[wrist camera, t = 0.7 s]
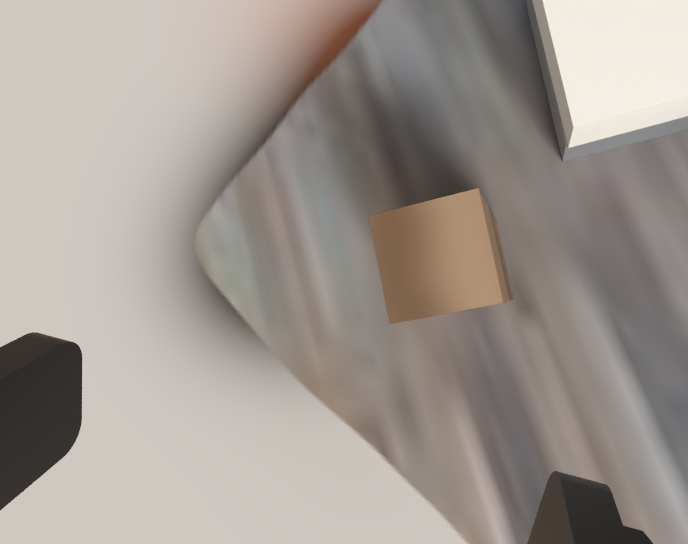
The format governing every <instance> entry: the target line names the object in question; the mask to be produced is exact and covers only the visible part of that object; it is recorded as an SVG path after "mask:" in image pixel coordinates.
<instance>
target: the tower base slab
mask: <svg viewBox="0 0 688 544" xmlns="http://www.w3.org/2000/svg"><path fill="white" fill-rule="evenodd" d="M526 7H527V11H528V15H529V20H530V24H531V28H532V33H533V37H534V41H535V46H536V50H537V54H538V58H539V63H540V67H541V71H542V76H543V80H544V84H545V88H546V93H547V97H548V101H549V106H550V110H551V114H552V119H553V123H554V127H555V131H556V136H557V140H558V144H559V149H560V153H561V157H562V161H567V160H571V159H574V158H578V157H582V156H586V155H590V154H594V153H598V152H602V151H606V150H610V149H614V148H618V147H621V146H625V145H629V144H633V143H637V142H641V141H645V140H649V139H653V138H657V137H661V136H665V135H669V134H672V133H676V132H680V131H684V130H688V116H686V117H683V118H679V119H675V120H671V121H668V122H664V123H660V124H656V125H653V126H649V127H645V128H642V129H638V130H634V131H630V132H627V133H623V134H619V135H615V136H612V137H608V138H604V139H600V140H597V141H593V142H589V143H585V144H582V145H578V146H574V147H571V148H568V145H567V141H566V136H565V132H564V128H563V124H562V120H561V116H560V112H559V108H558V104H557V99H556V95H555V91H554V87H553V83H552V79H551V75H550V71H549V67H548V62H547V58H546V54H545V50H544V46H543V42H542V38H541V34H540V30H539V26H538V21H537V17H536V13H535V9H534V5H533V1H532V0H526Z"/></svg>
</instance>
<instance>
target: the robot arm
mask: <svg viewBox="0 0 688 544" xmlns="http://www.w3.org/2000/svg"><path fill="white" fill-rule="evenodd" d="M81 419H82V353H81V350H80V348H79V346H78V345H77V344H76V343H73V342H70V341H66V340H62V339H59V338H54V337H51V336H47V335H43V334H40V333H29V334H26V335H24V336H22V337H20V338H18V339H17V340H14V341H12V342H10V343H8V344H6V345H4V346H2V347H0V510H1V509H2V508H4V507H5V506H6V505H7V504H8V503H10V502H11V501H12V500H13V499H14V498H15V497H17V496H18V495H19V494H20V493H21V492H23V491H24V490H25V489H26V488H27V487H28V486H30V485H31V484H32V483H33V482H34V481H36V480H37V479H38V478H39V477H40V476H42V475H43V474H44V473H45V472H46V471H47V470H49V469H50V468H51V467H52V466H53V465H54V464H56V463H57V462H58V461H59V460H60V459H62V458H63V457H64V456H65V455H66V454H67V453H68V452H69V450H70V449H71V447H72V446H73V444H74V443H75V441H76V438H77V436H78V434H79V430H80V426H81ZM528 544H653V543H652V542H651V540H650V539H649V538H648V537H647V536H646V535H645V533H644V532H643V531H640V530H637V529H633V528H629V527H626V526H623V524H622V521H621V518H620V515H619V513H618V510H617V507H616V504H615V501H614V498H613V495H612V492H611V490H610V488H609V487H608V486H607V485H606V484H602V483H598V482H595V481H591V480H587V479H583V478H580V477H576V476H572V475H568V474H564V473H561V472H557V471H554V472H553V473H552V474H551V476H550V477H549V479H548V482H547V485H546V488H545V491H544V494H543V497H542V500H541V503H540V506H539V509H538V513H537V516H536V519H535V522H534V525H533V528H532V531H531V534H530V537H529V540H528Z"/></svg>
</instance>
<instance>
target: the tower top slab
mask: <svg viewBox="0 0 688 544" xmlns="http://www.w3.org/2000/svg"><path fill="white" fill-rule="evenodd" d="M532 1H533V5H534V9H535V13H536V17H537V21H538V26H539V30H540V34H541V38H542V42H543V46H544V50H545V54H546V58H547V62H548V67H549V71H550V75H551V79H552V83H553V87H554V91H555V95H556V99H557V104H558V108H559V112H560V116H561V120H562V124H563V128H564V132H565V136H566V141H567V145H568V148H571V147H574V146H578V145H582V144H585V143H589V142H593V141H597V140H600V139H604V138H608V137H612V136H615V135H619V134H623V133H627V132H630V131H634V130H638V129H642V128H645V127H649V126H653V125H656V124H660V123H664V122H668V121H671V120H675V119H679V118H683V117H686V116H688V0H532Z"/></svg>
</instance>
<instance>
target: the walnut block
mask: <svg viewBox="0 0 688 544" xmlns="http://www.w3.org/2000/svg"><path fill="white" fill-rule="evenodd" d="M369 221H370V226H371V231H372V236H373V241H374V246H375V251H376V256H377V262H378V267H379V272H380V277H381V282H382V287H383V292H384V297H385V302H386V307H387V313H388V318H389V323H390V324H393V323H398V322H403V321H409V320H414V319H419V318H425V317H430V316H435V315H441V314H446V313H452V312H457V311H462V310H468V309H473V308H478V307H484V306H489V305H494V304H500V303H504V302H507V301H510V300H512V299H513V297H512V293H511V288H510V284H509V279H508V275H507V270H506V265H505V261H504V256H503V252H502V247H501V243H500V238H499V233H498V229H497V224H496V220H495V218H494V216H493V214H492V212H491V210H490V208H489V207H488V205H487V203H486V201H485V199H484V197H483V196H482V194H481V192H480V190H479V188H477V189H473V190H469V191H465V192H461V193H457V194H453V195H449V196H445V197H441V198H437V199H433V200H429V201H425V202H421V203H417V204H413V205H409V206H405V207H402V208H398V209H394V210H390V211H386V212H382V213H378V214H374V215H370V216H369Z"/></svg>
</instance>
